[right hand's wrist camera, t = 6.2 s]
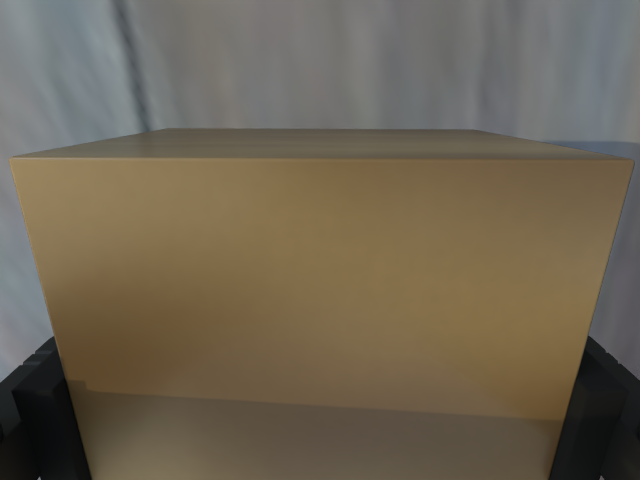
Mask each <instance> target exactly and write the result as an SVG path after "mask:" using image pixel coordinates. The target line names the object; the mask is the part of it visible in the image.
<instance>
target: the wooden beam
mask: <svg viewBox="0 0 640 480" xmlns="http://www.w3.org/2000/svg"><path fill="white" fill-rule="evenodd" d="M9 163H10V167H11V171H12V175H13V179H14V183H15V186H16V190H17V194H18V198H19V202H20V206H21V210H22V213H23V217H24V221H25V225H26V229H27V233H28V237H29V240H30V244H31V248H32V252H33V256H34V260H35V263H36V267H37V271H38V275H39V279H40V283H41V287H42V290H43V294H44V298H45V302H46V306H47V310H48V314H49V317H50V321H51V325H52V329H53V333H54V337H55V341H56V344H57V348H58V352H59V356H60V360H61V364H62V368H63V371H64V375H65V379H66V383H67V387H68V391H69V394H70V398H71V402H72V406H73V410H74V414H75V418H76V421H77V425H78V429H79V433H80V437H81V441H82V445H83V448H84V452H85V456H86V460H87V464H88V468H89V472H90V475H91V479H92V480H549V477H550V474H551V470H552V466H553V463H554V459H555V455H556V451H557V448H558V444H559V440H560V437H561V433H562V429H563V426H564V422H565V418H566V415H567V411H568V407H569V404H570V400H571V396H572V392H573V389H574V385H575V381H576V378H577V374H578V370H579V367H580V363H581V359H582V356H583V352H584V348H585V345H586V341H587V337H588V334H589V330H590V326H591V323H592V319H593V315H594V312H595V308H596V304H597V300H598V297H599V293H600V289H601V286H602V282H603V278H604V275H605V271H606V267H607V264H608V260H609V256H610V253H611V249H612V245H613V242H614V238H615V234H616V230H617V227H618V223H619V219H620V216H621V212H622V208H623V205H624V201H625V197H626V194H627V190H628V186H629V183H630V179H631V175H632V172H633V168H634V164H635V163H634V161H633V160H632V159H628V158H623V157H617V156H612V155H607V154H601V153H596V152H591V151H585V150H580V149H575V148H569V147H564V146H558V145H553V144H548V143H542V142H537V141H532V140H526V139H521V138H516V137H510V136H505V135H500V134H494V133H489V132H483V131H478V130H437V129H205V128H167V129H162V130H156V131H151V132H145V133H140V134H134V135H129V136H123V137H118V138H112V139H106V140H101V141H95V142H90V143H84V144H79V145H73V146H68V147H62V148H57V149H51V150H46V151H40V152H34V153H29V154H23V155H18V156H13V157H11V158H9Z"/></svg>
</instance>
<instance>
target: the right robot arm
mask: <svg viewBox="0 0 640 480" xmlns="http://www.w3.org/2000/svg"><path fill="white" fill-rule="evenodd" d="M600 476H602V477H603V478H604V480H640V380H638V379H637V378H636V377H635V376H634V375H633V374H632V373H631V372H629V371H628V370H627V369H626V368H625V367H624V366H623V365H622V364H618V361H617V360H616V359H615V358H614V357H613V356H611V355H610V354H609V353H606V352H605V349H604V348H602V347H601V346H600V345H599V344H598V343H597V342H596V341H595V340H593V339H592V338H591V337H590V336H588V337H587V341H586V345H585V348H584V352H583V356H582V359H581V363H580V367H579V370H578V374H577V378H576V381H575V385H574V389H573V392H572V396H571V400H570V404H569V407H568V411H567V415H566V418H565V422H564V426H563V429H562V433H561V437H560V440H559V444H558V448H557V451H556V455H555V459H554V463H553V466H552V470H551V474H550V477H549V480H599V479H600ZM39 477H40V478H41V480H92V479H91V475H90V472H89V468H88V464H87V460H86V456H85V452H84V448H83V445H82V441H81V437H80V433H79V429H78V425H77V421H76V418H75V414H74V410H73V406H72V402H71V398H70V394H69V391H68V387H67V383H66V379H65V375H64V371H63V368H62V364H61V360H60V356H59V352H58V348H57V344H56V341H55V337H54V336H53V337H52V338H50V339H49V340H48V341H46V342H45V343H44V344H43V345H42V346H41V347H40V348H39V349H38V350H36V351H35V354H32V355H31V356H30V357H29V358H28V359H26V360H25V361H24V362H23V365H20V366H19V367H17V368H16V369H15V370H14V371H13V372H12V373H11V374H10V375H9V376H7V377H6V378H5V379H4V380H3V381H2V382H1V383H0V480H37V479H38V478H39Z"/></svg>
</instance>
